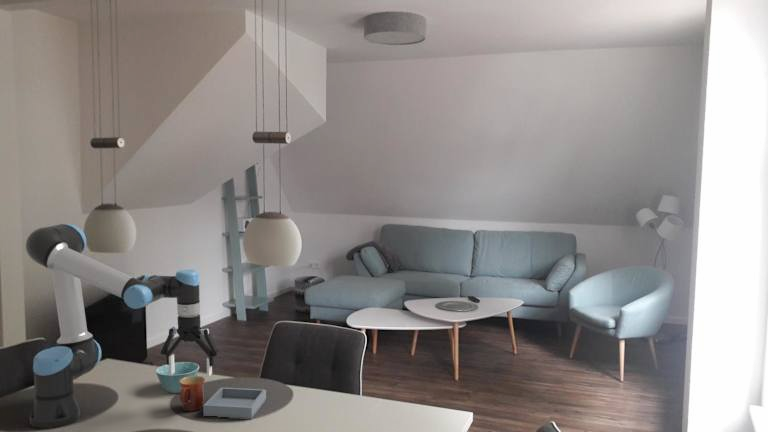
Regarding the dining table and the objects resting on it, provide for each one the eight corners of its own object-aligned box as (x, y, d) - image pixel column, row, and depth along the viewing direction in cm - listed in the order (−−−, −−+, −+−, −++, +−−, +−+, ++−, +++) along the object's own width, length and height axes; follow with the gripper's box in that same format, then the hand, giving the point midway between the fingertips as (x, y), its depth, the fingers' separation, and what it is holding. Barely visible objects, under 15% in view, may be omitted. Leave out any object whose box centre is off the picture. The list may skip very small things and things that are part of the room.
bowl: (149, 388, 244) (149, 367, 244) (188, 378, 255) (188, 358, 254) (166, 400, 233) (166, 378, 232) (206, 389, 243) (206, 368, 243)
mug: (187, 402, 231) (187, 375, 230) (209, 404, 229) (209, 376, 228) (170, 415, 219) (169, 386, 218) (193, 418, 217) (193, 388, 216)
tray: (203, 416, 219) (203, 405, 218) (221, 397, 235) (221, 387, 235) (251, 419, 217) (251, 407, 216) (266, 400, 234) (266, 389, 233)
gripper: (149, 316, 218) (151, 376, 220) (219, 318, 215) (221, 379, 217) (159, 311, 225) (161, 369, 227) (227, 312, 223) (229, 371, 225)
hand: (190, 374), depth 222 cm, fingers open, 13 cm apart
